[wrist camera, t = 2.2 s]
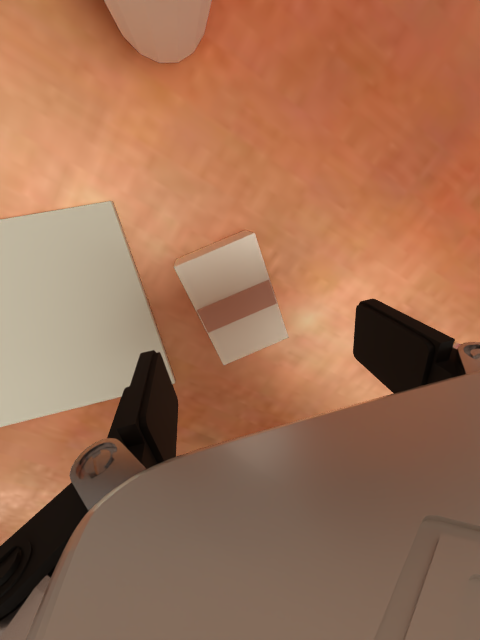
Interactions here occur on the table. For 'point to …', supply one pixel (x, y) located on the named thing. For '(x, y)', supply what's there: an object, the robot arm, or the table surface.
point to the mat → (69, 312)
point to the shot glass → (161, 26)
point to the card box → (233, 295)
